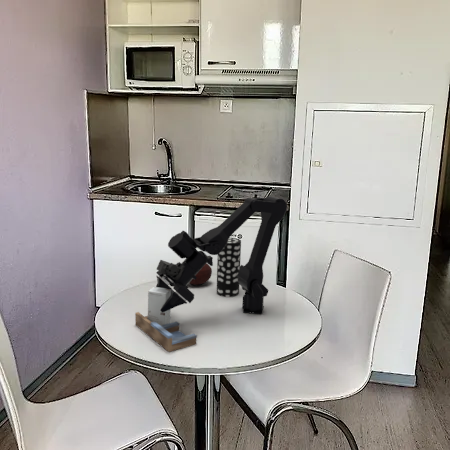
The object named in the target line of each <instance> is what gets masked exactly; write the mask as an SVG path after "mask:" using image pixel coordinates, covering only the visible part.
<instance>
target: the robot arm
mask: <svg viewBox="0 0 450 450" xmlns="http://www.w3.org/2000/svg"><path fill="white" fill-rule="evenodd" d="M287 209H288V204H287V202H286V200H284V199H283V198H279V197H277V196H274V195H268V196H266V197H247V198H245V200H244V201H243V203H241V205H240V206H239V207H238V208H237V209H235V210H234V211H233V212H232V213H231V214H230V215H228V217H227V218H225V220H223V222H222V223H220V224H219V225H218V226H217V227H213V228H211V229H209V230H208V231H206V232H205V233H203V234H202V235H201V236H199V237H195V238H192V237H191V236H190V235H189V234H188V232H186V231H185V230H182V231H181V232H179V233H177V234H175V235H173V236H172V237H171V238H170V239H169V241H168V244H167V246H168V248H169V249H170V250H172V252H173V253H174V254H175V255H177V256H178V257H179V258H180V259H184V260H183V261H182V262H180V261H178V262H176V263H173V262H168V261H165V260H164V259H160V260H159V262H158V264H157V267H156V270H157V272H156V274H157V275H156V281H157V283H156V286H155V287H159V288H165V289H170V290H171V295H170V297H169V298H168V299H167V301H166V302H165V304H164V305H163V306H162V308H161V310H160V311H161V312H165V311H167V310H170V309H174V308H176V307H178V306H181V305H184V304H191V303H192V302H193V300H194V299H195V294H194V293H193V292H192V291H191V290H190V289H189V287H188V284H190V283H189V282H190V281H191V280H192V279H194V280H195V279H196V278H197V277H196V276H195V275H196V274H197V273H198V272H199V271H200V270H201V269H202V267H203V266H204V265H205V264H206V263H207V264H208V265H209V266H210V267H213V266H214V263H213V257H212V256H218V254H219V253H220V252H221V251H222V250H223V248H224V247H225V246H226V244H227V242H228V239H229V238H231V236H232V235H233V234H234V233H235V232H236V231H237V230H238V229H240V227H241V226H242V225H244V224H245V223H246V222H247V220H250V218H251V217H252V216H253V215H254V214H255V213H256V212H257V213H258V212H259V213H260V217H261V221H260V225H259V229H258V231H257V235H256V238H255V240H254V244H253V246H252V250H251V253H250V256H249V259H248V262H246V264H245V265H242V264H240V270H239V273H238V274H237V276H238V283H239V286H241V289H242V291H244V294H243V296H242V307H241V308H242V310H243V311H242V312H243V313H247V314H254V315H255V314H257V315H259V314H260V315H263V312H264V308H265V306H264V299H265V297H267V296H268V293H269V289H268V287H266V286H265V285H264V284H263V282H264V271H263V270H264V269H263V267H264V262H265V261H266V256H267V253H268V251H269V247H270V244H271V241H272V238H273V235H274V232H275V229H276V227H277V225H278V224H279V223H281V221H282V220H283V218H284V217H285V214H286V212H287ZM197 249H198V250H197ZM205 252H206V253H207V254H206V253H205ZM172 287H173V289H172ZM170 311H171V310H170Z"/></svg>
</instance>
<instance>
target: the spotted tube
mask: <svg viewBox="0 0 450 450" xmlns="http://www.w3.org/2000/svg"><path fill="white" fill-rule="evenodd" d="M241 249H242V240H241V239H239V238H236V237H229V239H228V242H227V244H226V246H225V247H224V248H223V250H222V251H221V252H220V253H219V254H217V264H216V265H217V266H216V267H217V268H216V294H217V295H218V296H221V297H226V298H233V297H236V296H239V294H240V284H239V283H238V276H237V274H238V273H239V270H240V266H241V253H242V252H241Z"/></svg>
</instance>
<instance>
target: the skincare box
mask: <svg viewBox="0 0 450 450" xmlns="http://www.w3.org/2000/svg"><path fill="white" fill-rule="evenodd" d="M147 294H148V295H147V316H148V320H149V321H151V322H156V323H158V324H159V325H160V326H161V325H165V324H169V323H171V309H170V310H167V311H165V312H161V311H160V310H161V308H162V306H163V305H164V304H165V302H166V301H167V299H168V298H169V297H170V295H171V290H170V289H165V288H159V287H156V286H153V287H151V288H150V289H149V290H148V292H147Z"/></svg>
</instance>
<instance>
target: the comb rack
mask: <svg viewBox="0 0 450 450" xmlns="http://www.w3.org/2000/svg"><path fill="white" fill-rule="evenodd" d="M135 326H136V327H138V328H139V329H140V330H141V331H142V332H144V333H145V334H147V336H149V337H150V338H151V339H152V340H154V341H155V342H156V343H157V344H158V345H160V346H161V347H162V348H164V350H166V351H167V352H168V353H170V352H175V351H176V350H181V349H183V348H187V347H190V346H194V345H197V338H198V335H197V334H195V333H192V334H187V335H186V334H185V333H183V332H182V331H180V322H178V321H174V322H170V323H169V324H165V325H161V326H160V325H159V324H158V323H156V322H151V321H149V320H148V315H146V316H144V315H143V314H141V313H140V312H139V311H137V312H135Z"/></svg>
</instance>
